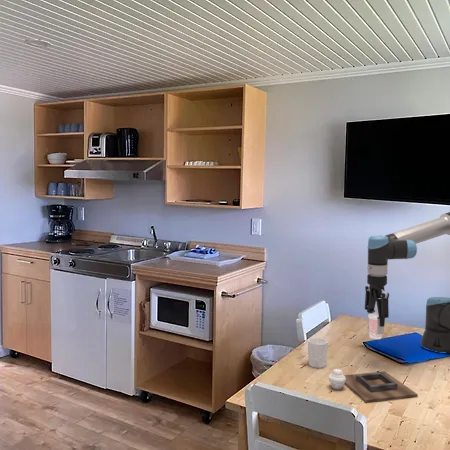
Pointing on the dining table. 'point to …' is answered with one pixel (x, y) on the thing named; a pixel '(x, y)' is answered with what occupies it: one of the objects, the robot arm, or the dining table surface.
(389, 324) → the dining table surface
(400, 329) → the dining table surface
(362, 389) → the cup holder
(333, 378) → the white lidded jar
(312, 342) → the white cup
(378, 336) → the beverage cup
